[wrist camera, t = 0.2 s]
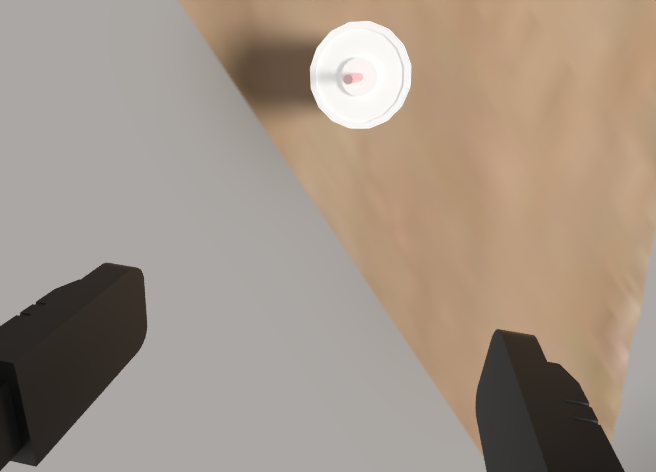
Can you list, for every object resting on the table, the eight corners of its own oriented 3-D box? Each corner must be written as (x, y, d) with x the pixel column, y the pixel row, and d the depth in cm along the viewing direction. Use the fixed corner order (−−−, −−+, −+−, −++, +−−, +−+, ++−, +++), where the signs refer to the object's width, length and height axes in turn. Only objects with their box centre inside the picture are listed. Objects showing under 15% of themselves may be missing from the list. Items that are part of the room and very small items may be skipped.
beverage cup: (384, 13, 34) (365, -19, 21) (428, 84, 35) (435, 95, 22) (318, 64, 36) (264, 63, 23) (361, 130, 37) (332, 164, 24)
